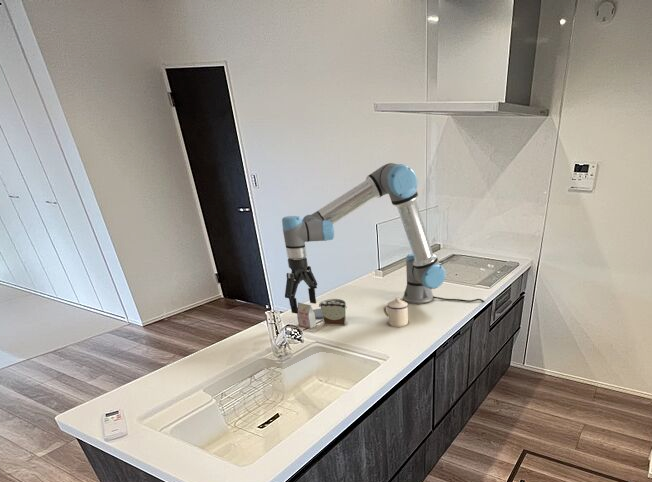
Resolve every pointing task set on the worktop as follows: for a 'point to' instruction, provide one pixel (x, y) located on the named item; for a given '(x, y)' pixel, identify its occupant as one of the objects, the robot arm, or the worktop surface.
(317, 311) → the saucer
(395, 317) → the teacup with lid
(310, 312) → the tea bag
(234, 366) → the worktop surface
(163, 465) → the worktop surface
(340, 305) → the food container
